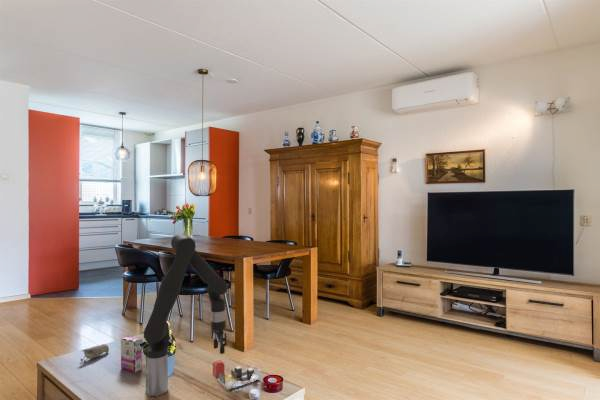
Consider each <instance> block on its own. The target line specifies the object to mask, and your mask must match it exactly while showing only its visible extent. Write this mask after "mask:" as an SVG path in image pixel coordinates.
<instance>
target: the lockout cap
mask: <svg viewBox="0 0 600 400" xmlns="http://www.w3.org/2000/svg"><path fill="white" fill-rule="evenodd" d="M219 373H220V374H221V375H223V376H225V363H224V361H222V360H221V359H219V360H215V361H213V362H212V375H213V376H214V378H219Z"/></svg>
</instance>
